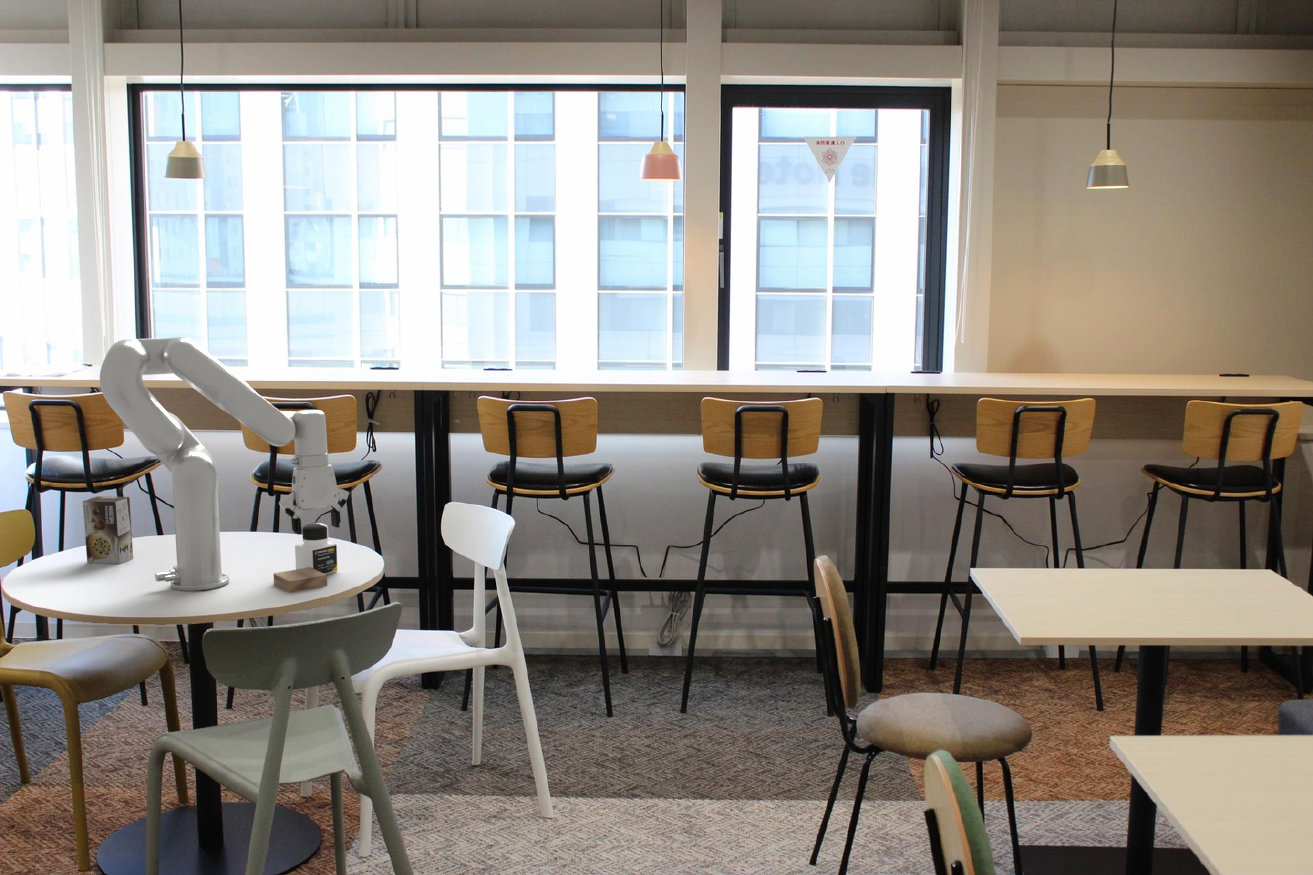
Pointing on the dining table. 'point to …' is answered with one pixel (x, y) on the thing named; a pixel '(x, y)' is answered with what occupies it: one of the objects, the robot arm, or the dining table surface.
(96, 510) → the coffee box
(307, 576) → the walnut riser block
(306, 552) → the medicine bottle
